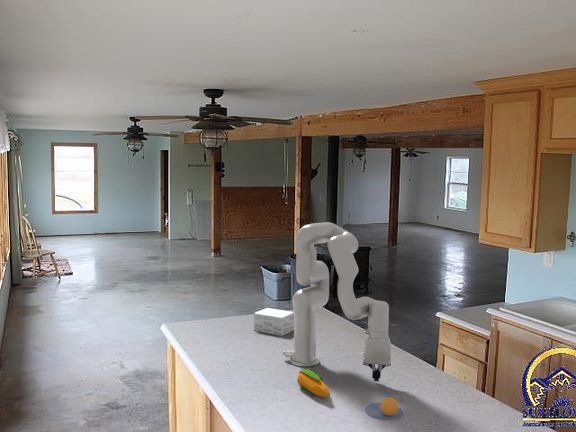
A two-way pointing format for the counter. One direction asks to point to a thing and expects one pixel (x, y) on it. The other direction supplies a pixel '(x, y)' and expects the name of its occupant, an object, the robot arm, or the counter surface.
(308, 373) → the corn
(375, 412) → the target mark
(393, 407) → the ball
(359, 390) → the counter surface
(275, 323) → the supplement box
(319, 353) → the counter surface
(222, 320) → the counter surface
